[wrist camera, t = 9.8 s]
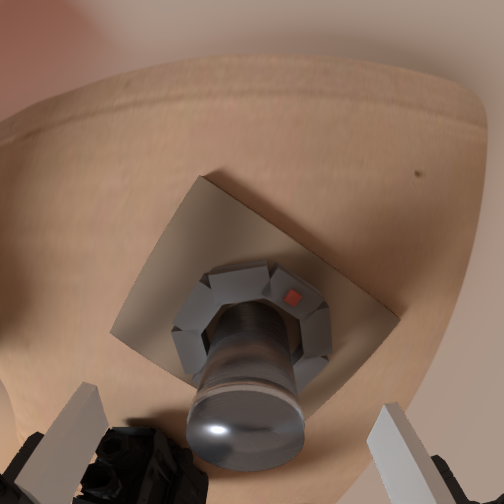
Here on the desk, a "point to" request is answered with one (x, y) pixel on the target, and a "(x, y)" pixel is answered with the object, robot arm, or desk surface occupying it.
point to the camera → (141, 471)
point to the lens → (247, 394)
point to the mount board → (236, 242)
